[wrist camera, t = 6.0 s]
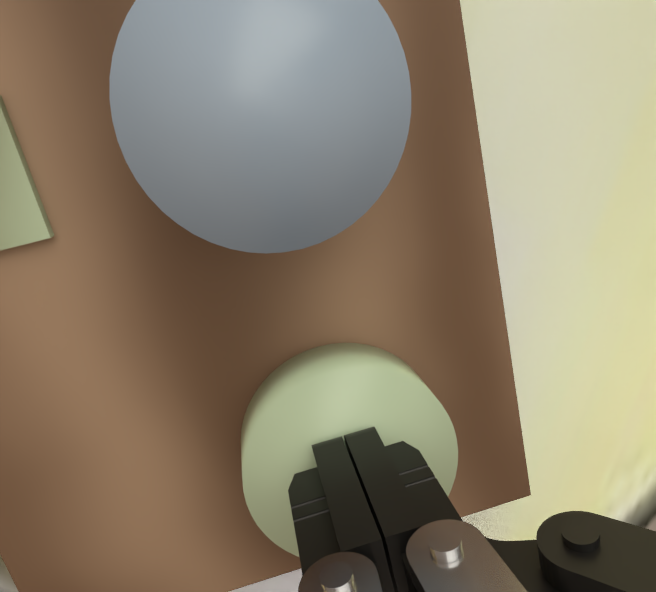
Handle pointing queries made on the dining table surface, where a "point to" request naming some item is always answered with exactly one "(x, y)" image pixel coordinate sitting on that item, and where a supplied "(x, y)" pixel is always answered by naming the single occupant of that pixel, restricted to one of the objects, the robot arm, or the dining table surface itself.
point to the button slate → (261, 115)
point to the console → (213, 318)
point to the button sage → (334, 423)
